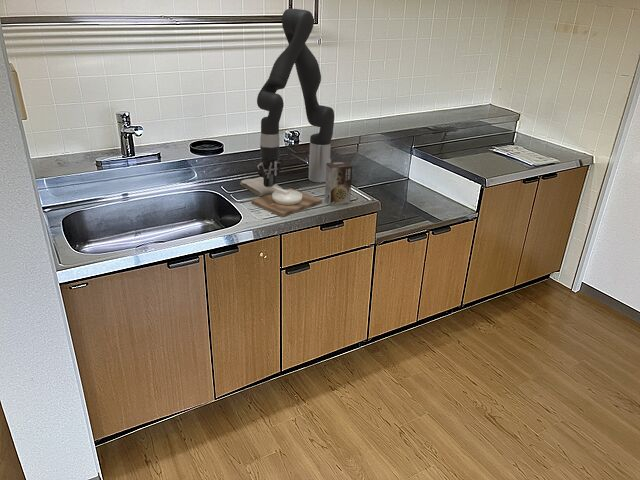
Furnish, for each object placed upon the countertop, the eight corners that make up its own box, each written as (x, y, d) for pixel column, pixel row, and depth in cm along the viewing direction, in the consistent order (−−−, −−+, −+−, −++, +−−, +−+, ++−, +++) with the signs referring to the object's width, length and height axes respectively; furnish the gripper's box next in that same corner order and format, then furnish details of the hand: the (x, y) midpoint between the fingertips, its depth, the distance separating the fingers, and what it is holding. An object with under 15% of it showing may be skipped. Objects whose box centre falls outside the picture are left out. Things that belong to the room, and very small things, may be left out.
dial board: (290, 191, 222) (290, 187, 222) (321, 203, 212) (322, 199, 211) (251, 203, 207) (251, 199, 207) (283, 217, 197) (283, 213, 196)
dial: (308, 199, 210) (309, 180, 206) (287, 207, 201) (288, 187, 198) (277, 188, 219) (277, 169, 216) (256, 195, 211) (256, 176, 208)
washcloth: (261, 181, 234) (261, 174, 233) (284, 193, 222) (284, 186, 220) (238, 185, 227) (238, 179, 226) (260, 198, 215) (260, 191, 213)
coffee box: (344, 198, 218) (346, 161, 211) (350, 203, 213) (353, 165, 206) (323, 200, 215) (326, 162, 208) (329, 205, 210) (332, 167, 203)
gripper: (275, 139, 213) (274, 179, 220) (250, 145, 203) (250, 187, 210) (288, 142, 209) (287, 183, 216) (264, 149, 198) (264, 192, 206)
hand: (269, 185), depth 213 cm, fingers closed on dial, 3 cm apart
